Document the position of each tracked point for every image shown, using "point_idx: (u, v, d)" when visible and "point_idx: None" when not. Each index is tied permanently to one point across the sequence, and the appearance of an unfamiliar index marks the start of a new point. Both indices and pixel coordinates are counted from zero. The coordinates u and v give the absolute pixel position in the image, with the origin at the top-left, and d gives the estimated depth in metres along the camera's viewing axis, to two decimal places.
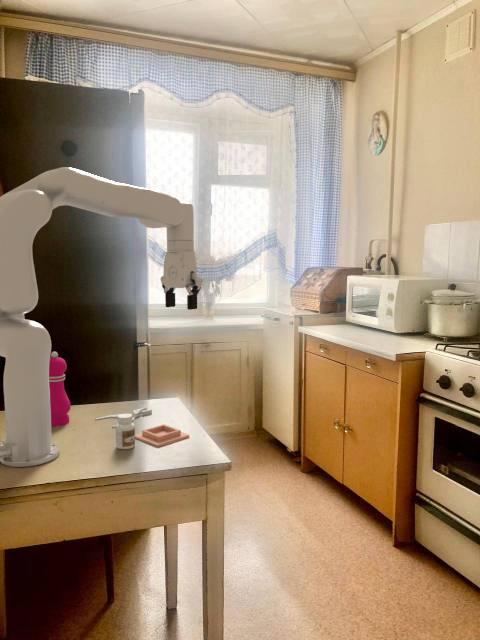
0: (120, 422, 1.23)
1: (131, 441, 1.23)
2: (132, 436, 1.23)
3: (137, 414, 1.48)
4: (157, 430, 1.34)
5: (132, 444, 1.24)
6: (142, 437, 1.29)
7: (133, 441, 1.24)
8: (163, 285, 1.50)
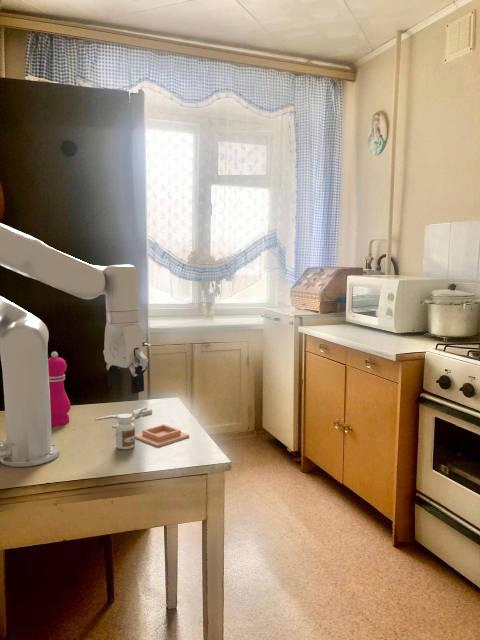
0: (120, 422, 1.23)
1: (131, 441, 1.23)
2: (132, 436, 1.23)
3: (137, 414, 1.48)
4: (157, 430, 1.34)
5: (132, 444, 1.24)
6: (142, 437, 1.29)
7: (133, 441, 1.24)
8: None
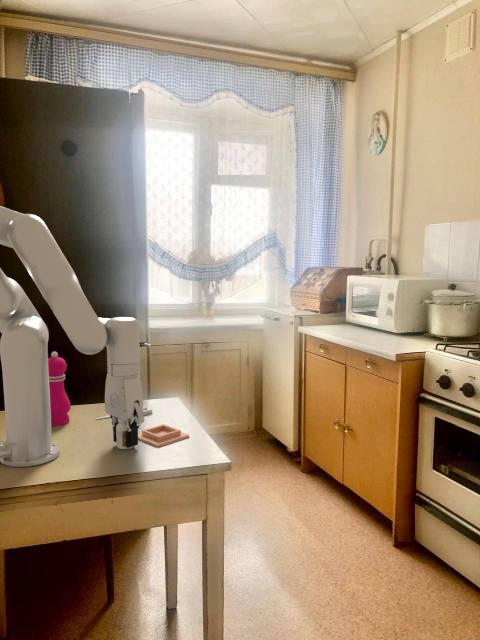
0: (120, 422, 1.23)
1: None
2: None
3: None
4: (157, 430, 1.34)
5: None
6: (142, 437, 1.29)
7: None
8: (111, 415, 1.27)
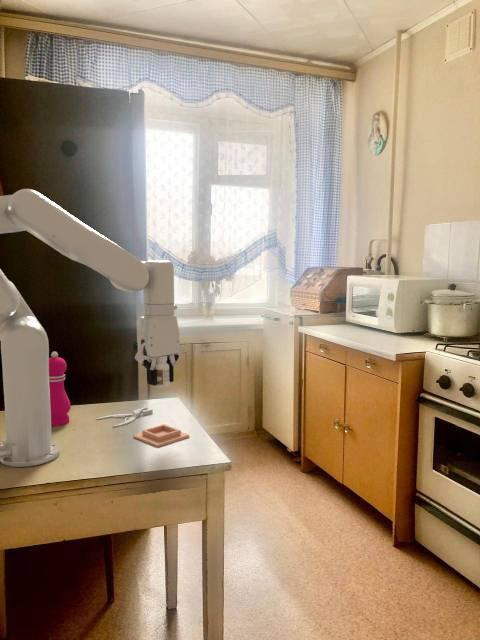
0: None
1: None
2: None
3: (138, 414, 1.48)
4: (157, 430, 1.34)
5: None
6: (142, 437, 1.29)
7: None
8: None
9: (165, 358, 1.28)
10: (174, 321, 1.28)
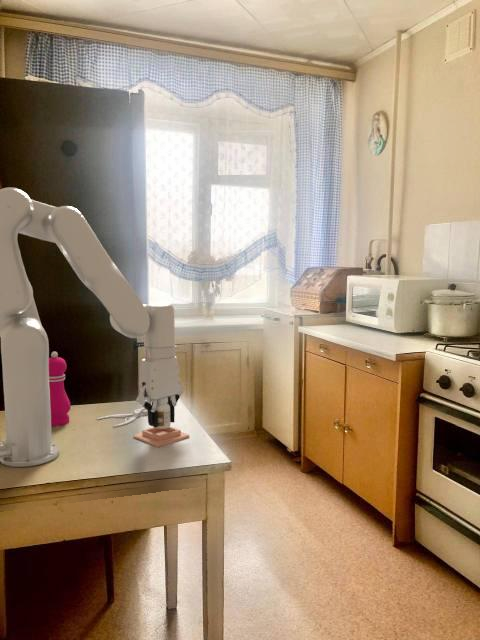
0: None
1: None
2: None
3: (138, 414, 1.48)
4: (157, 430, 1.34)
5: None
6: (142, 437, 1.29)
7: None
8: None
9: (166, 399, 1.29)
10: (175, 363, 1.30)
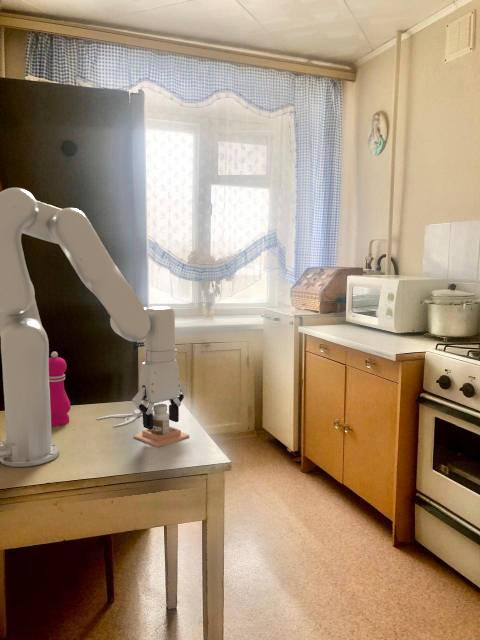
0: None
1: (154, 431, 1.29)
2: (154, 426, 1.29)
3: (138, 414, 1.48)
4: None
5: None
6: (142, 437, 1.29)
7: (156, 432, 1.29)
8: None
9: (165, 408, 1.29)
10: (175, 366, 1.30)
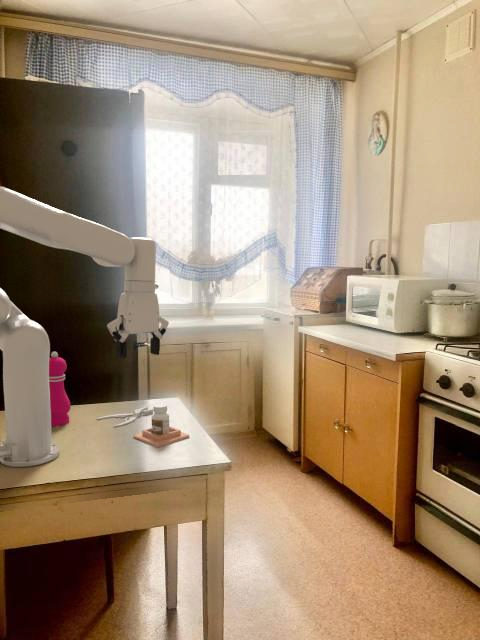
0: None
1: (154, 431, 1.29)
2: (154, 426, 1.29)
3: (138, 414, 1.48)
4: None
5: None
6: (142, 437, 1.29)
7: (156, 432, 1.29)
8: None
9: (165, 408, 1.29)
10: (154, 299, 1.29)
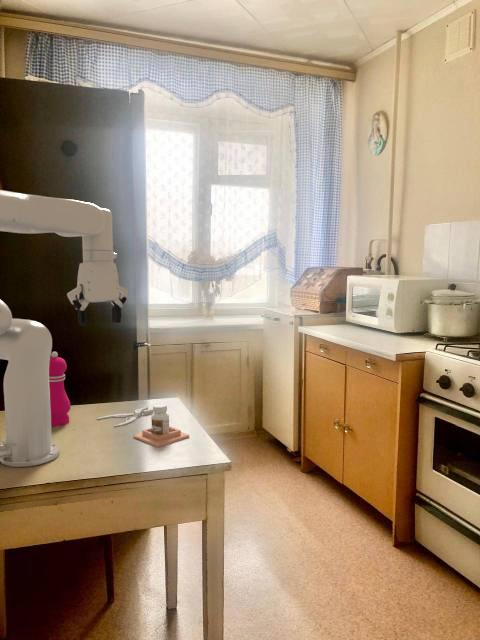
0: None
1: (154, 431, 1.29)
2: (154, 426, 1.29)
3: (139, 414, 1.48)
4: None
5: None
6: (142, 437, 1.29)
7: (156, 432, 1.29)
8: None
9: (165, 408, 1.29)
10: (113, 268, 1.33)
